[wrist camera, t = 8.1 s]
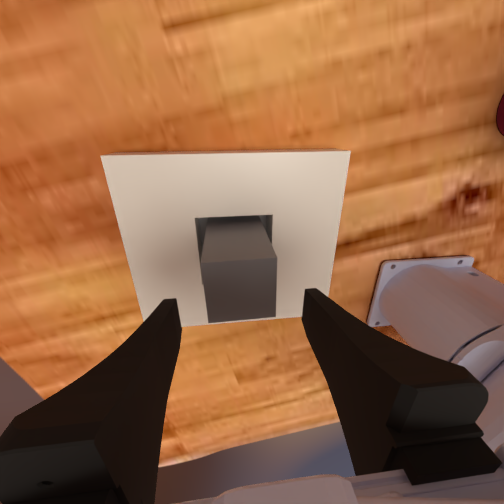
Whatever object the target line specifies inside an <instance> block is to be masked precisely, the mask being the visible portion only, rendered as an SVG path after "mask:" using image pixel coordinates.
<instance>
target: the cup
mask: <svg viewBox="0 0 504 504" xmlns="http://www.w3.org/2000/svg"><path fill="white" fill-rule="evenodd" d="M497 125H498V129H499V130H500V132H501V133H502V134H503V135H504V95H503V97H502V99H501V102H500V105H499V108H498V112H497Z"/></svg>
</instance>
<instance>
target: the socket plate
mask: <svg viewBox="0 0 504 504" xmlns="http://www.w3.org/2000/svg"><path fill="white" fill-rule="evenodd" d="M350 152H351V151H347V150H341V149H291V150H234V151H178V152H121V153H111V154H106V155H101V160H102V164H103V167H104V171H105V175H106V179H107V183H108V187H109V190H110V194H111V198H112V202H113V206H114V210H115V213H116V217H117V221H118V225H119V229H120V233H121V236H122V240H123V244H124V248H125V252H126V256H127V259H128V263H129V267H130V271H131V275H132V279H133V282H134V286H135V290H136V294H137V298H138V302H139V305H140V309H141V313H142V317H143V321H145V320H146V319H147V318H148V317H149V316H150V314H151V313H152V312H153V311H154V310H155V309H156V307H157V306H158V305H159V304H160V303H161V302H162V301H163V299H172V298H176V299H177V305H178V310H179V316H180V322H181V327H185V326H197V325H209V324H221V323H233V322H245V321H257V320H269V319H281V318H293V317H302V311H303V301H304V292H305V289H309V288H317V289H318V290H320V291H321V292H322V293H323V294H325V295H326V296H327V297H328V295H329V289H330V282H331V276H332V269H333V263H334V256H335V250H336V243H337V237H338V230H339V224H340V217H341V211H342V204H343V198H344V191H345V185H346V178H347V172H348V165H349V159H350ZM250 215H259V217H260V220H261V222H262V224H263V226H264V229H265V231H266V233H267V235H268V238H269V240H270V242H271V244H272V247H273V249H274V251H275V253H276V256H277V290H276V317H269V318H259V319H248V320H237V321H226V322H216V323H208V316H207V309H206V301H205V293H204V285H203V278H202V270H201V257H202V251H203V245H204V239H205V232H206V226H207V220H208V217H227V216H250Z"/></svg>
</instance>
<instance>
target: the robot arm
mask: <svg viewBox="0 0 504 504" xmlns="http://www.w3.org/2000/svg"><path fill="white" fill-rule="evenodd" d="M473 262H474V258H473V257H471V256H455V257H439V258H423V259H408V260H392V261H385V262H383V263H382V265H381V269H380V272H379V276H378V280H377V284H376V288H375V292H374V296H373V300H372V304H371V308H370V312H369V316H368V320H367V324H368V325H369V326H368V325H367V324H365V323H363V322H362V321H360V320H359V319H357V318H356V317H354V316H353V315H351V314H350V313H349V312H347V311H346V310H344V309H343V308H342V307H340V306H339V305H338V304H336V303H335V302H334V301H332V300H331V299H330V298H329V297H327V296H326V295H325V294H323V293H322V292H321V291H320V290H318V289H317V288H309V289H305V292H304V301H303V311H302V322H303V326H304V329H305V332H306V335H307V338H308V340H309V343H310V345H311V347H312V349H313V352H314V354H315V356H316V358H317V360H318V363H319V365H320V367H321V369H322V371H323V374H324V376H325V378H326V381H327V383H328V386H329V389H330V392H331V395H332V398H333V401H334V404H335V407H336V410H337V413H338V416H339V419H340V422H341V425H342V429H343V432H344V435H345V439H346V442H347V446H348V449H349V453H350V456H351V460H352V463H353V467H354V471H355V474H356V476H353V477H346V478H343V477H341V476H339V475H316V476H309V477H302V478H295V479H288V480H282V481H275V482H268V483H261V484H254V485H247V486H242V487H238V488H234V489H231V490H228V491H225V492H224V493H222V494H221V495H219V496H218V497H213V498H206V499H199V500H193V501H186V502H179V503H173V504H504V284H503V283H501V282H499V281H497V280H495V279H493V278H492V277H490V276H488V275H486V274H484V273H482V272H480V271H479V270H477V269H475V268H473V267H471V266H472V264H473ZM392 265H393V266H392ZM391 266H392V267H391ZM388 325H392V326H393V328H394V329H395V330H396V331H397V332H398V333H399V334H400V335H401V337H402V338H403V339H404V340H405V341H406V342H407V343H408V345H409V346H410V347H409V346H407V345H405V344H403V343H401V342H398V341H396V340H394V339H392V338H390V337H388V336H386V335H384V334H382V333H381V332H379V331H377V330H375V329H374V328H372V327H377V326H388ZM181 333H182V327H181V322H180V316H179V310H178V305H177V299H176V298H172V299H163V301H162V302H161V303H160V304H159V305H158V306H157V307H156V309H155V310H154V311H153V312H152V313H151V314H150V316H149V317H148V318H147V319H146V320H145V321H144V322H143V323H142V324H141V325H140V327H139V328H138V329H137V330H136V331H135V332H134V333H133V334H132V335H131V336H130V337H129V338H128V339H127V340H126V341H125V342H124V343H123V344H122V345H121V346H119V347H118V348H117V349H116V350H115V351H114V352H113V353H111V354H110V355H109V356H108V357H107V358H105V359H104V360H103V361H102V362H100V363H99V364H98V365H96V366H95V367H94V368H92V369H91V370H90V371H88V372H87V373H86V374H84V375H83V376H81V377H80V378H78V379H77V380H76V381H74V382H73V383H71V384H70V385H68V386H66V387H65V388H63V389H62V390H60V391H59V392H57V393H56V394H54V395H52V396H51V397H49V398H47V399H46V400H44V401H42V402H40V403H39V404H37V405H35V406H33V407H32V408H30V409H28V410H26V411H25V412H23V413H21V414H19V415H17V416H16V417H15V418H14V419H13V420H12V422H11V423H10V424H9V426H8V427H7V428H6V430H5V431H4V432H3V434H2V435H1V436H0V501H1V503H2V504H154V502H155V492H156V482H157V473H158V465H159V456H160V448H161V440H162V433H163V425H164V418H165V412H166V405H167V399H168V394H169V390H170V386H171V382H172V378H173V374H174V370H175V366H176V362H177V357H178V353H179V349H180V342H181Z"/></svg>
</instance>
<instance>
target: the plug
mask: <svg viewBox="0 0 504 504" xmlns="http://www.w3.org/2000/svg"><path fill="white" fill-rule="evenodd" d="M201 270H202V278H203V285H204V293H205V301H206V309H207V316H208V323H216V322H226V321H237V320H248V319H259V318H269V317H276V290H277V256H276V253H275V251H274V249H273V247H272V244H271V242H270V240H269V238H268V235H267V233H266V231H265V229H264V226H263V224H262V222H261V220H260V217H259V215H250V216H227V217H208V220H207V226H206V232H205V239H204V245H203V251H202V257H201Z"/></svg>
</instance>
